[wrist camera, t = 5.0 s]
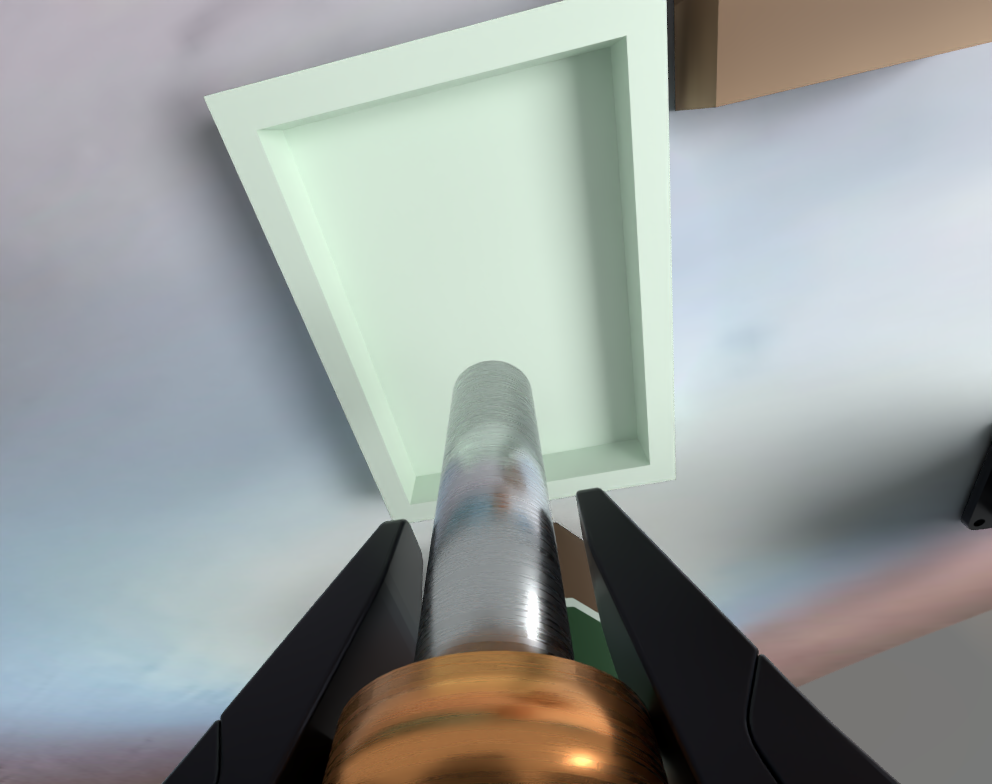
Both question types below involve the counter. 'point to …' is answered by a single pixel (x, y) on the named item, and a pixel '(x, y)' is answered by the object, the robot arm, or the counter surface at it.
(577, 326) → the tray
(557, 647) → the pin
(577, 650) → the beer bottle
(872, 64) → the block
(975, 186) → the counter surface
